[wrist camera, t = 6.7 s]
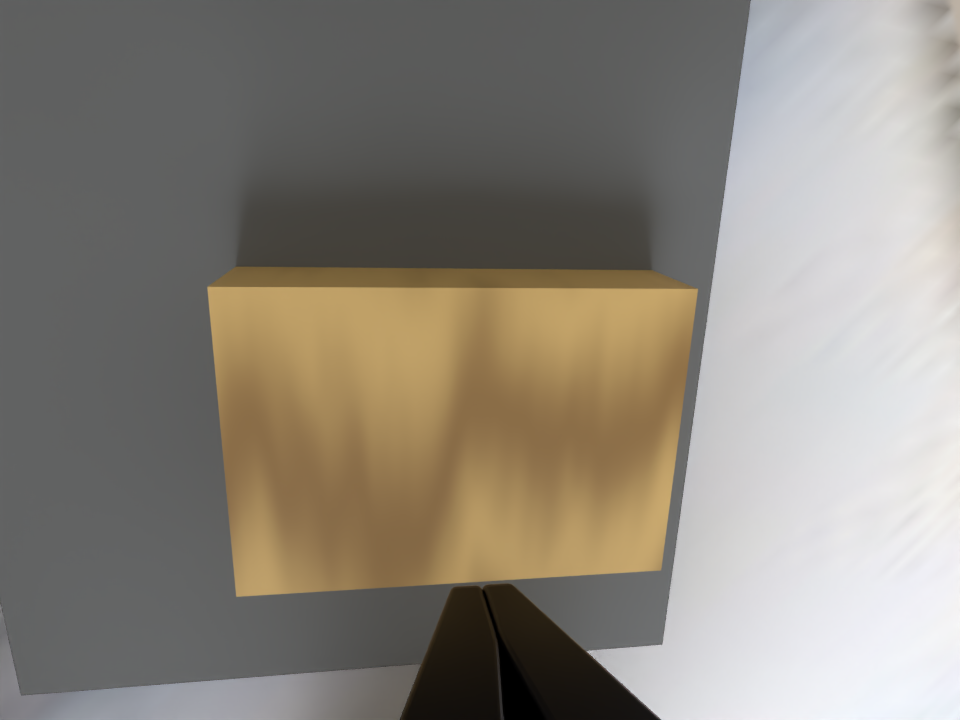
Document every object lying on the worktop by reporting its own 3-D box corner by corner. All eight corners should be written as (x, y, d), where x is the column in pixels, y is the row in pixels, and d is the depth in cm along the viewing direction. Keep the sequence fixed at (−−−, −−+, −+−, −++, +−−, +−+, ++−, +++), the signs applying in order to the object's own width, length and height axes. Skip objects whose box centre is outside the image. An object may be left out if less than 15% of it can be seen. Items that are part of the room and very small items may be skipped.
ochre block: (257, 535, 17) (625, 517, 18) (236, 596, 14) (661, 570, 16) (235, 266, 15) (652, 270, 16) (206, 286, 12) (697, 289, 14)
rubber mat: (654, 631, 20) (662, 644, 20) (32, 678, 18) (21, 695, 17) (739, -11, 15) (753, -18, 14) (-127, -77, 12) (-152, -88, 12)
